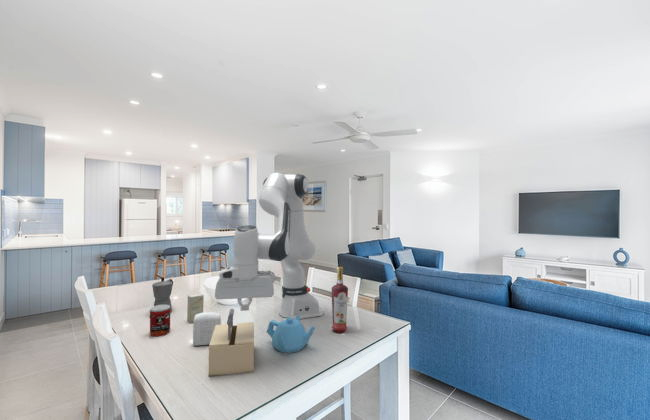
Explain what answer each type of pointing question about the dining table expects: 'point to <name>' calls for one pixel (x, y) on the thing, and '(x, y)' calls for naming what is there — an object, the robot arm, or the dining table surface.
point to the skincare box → (194, 306)
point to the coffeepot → (163, 292)
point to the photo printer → (204, 327)
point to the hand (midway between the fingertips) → (244, 310)
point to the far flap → (222, 332)
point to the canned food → (159, 320)
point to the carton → (234, 352)
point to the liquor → (339, 303)
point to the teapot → (289, 335)
